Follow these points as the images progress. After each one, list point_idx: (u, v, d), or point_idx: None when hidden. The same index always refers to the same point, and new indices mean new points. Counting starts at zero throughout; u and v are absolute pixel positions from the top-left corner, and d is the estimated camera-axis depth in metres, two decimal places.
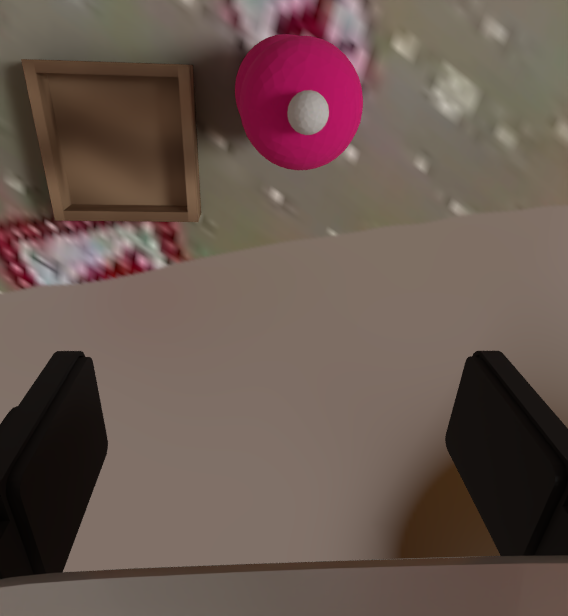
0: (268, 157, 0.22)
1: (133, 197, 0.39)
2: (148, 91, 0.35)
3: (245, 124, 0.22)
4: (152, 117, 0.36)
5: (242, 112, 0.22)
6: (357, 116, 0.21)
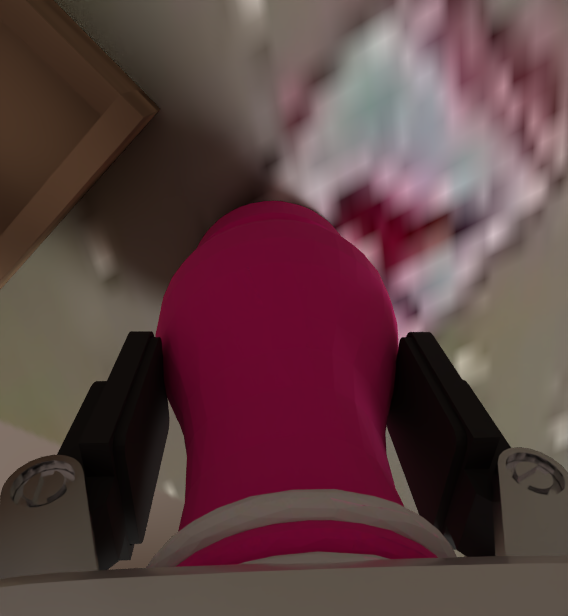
0: None
1: None
2: (24, 67, 0.14)
3: None
4: None
5: None
6: None
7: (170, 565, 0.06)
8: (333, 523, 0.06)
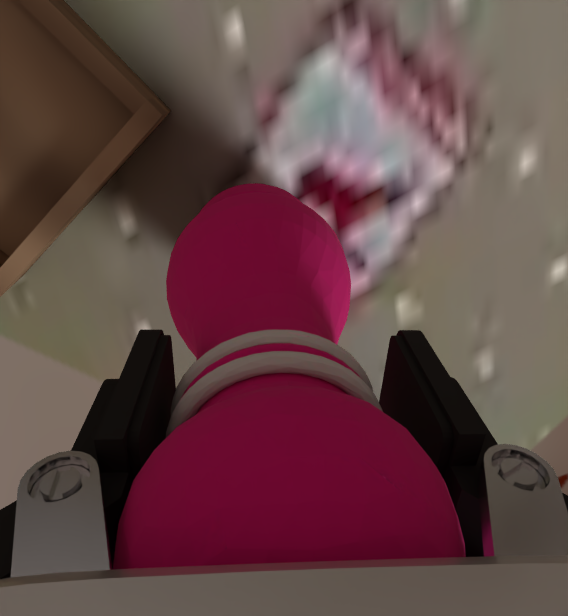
0: None
1: None
2: (78, 81, 0.20)
3: (128, 558, 0.07)
4: (53, 115, 0.20)
5: (145, 528, 0.06)
6: None
7: (193, 377, 0.10)
8: (289, 343, 0.10)
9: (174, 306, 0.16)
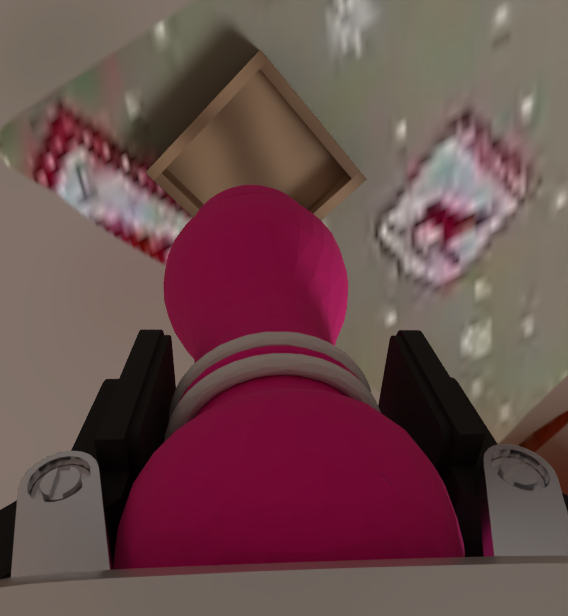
0: None
1: None
2: (315, 158, 0.36)
3: (128, 562, 0.07)
4: (298, 175, 0.36)
5: (146, 531, 0.06)
6: None
7: (192, 380, 0.10)
8: (288, 345, 0.10)
9: (171, 308, 0.16)
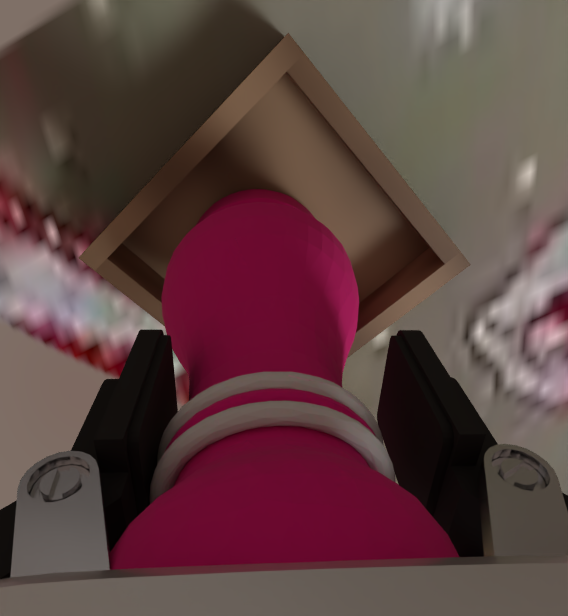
0: None
1: None
2: (376, 224, 0.21)
3: None
4: (346, 252, 0.21)
5: None
6: None
7: (181, 424, 0.09)
8: (288, 388, 0.09)
9: (168, 326, 0.15)
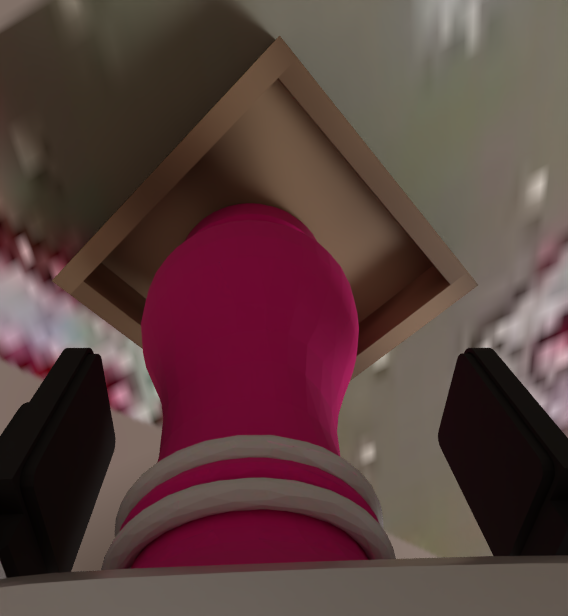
0: None
1: None
2: (376, 240, 0.19)
3: None
4: (344, 271, 0.20)
5: None
6: None
7: (140, 496, 0.08)
8: (267, 459, 0.07)
9: (146, 358, 0.13)
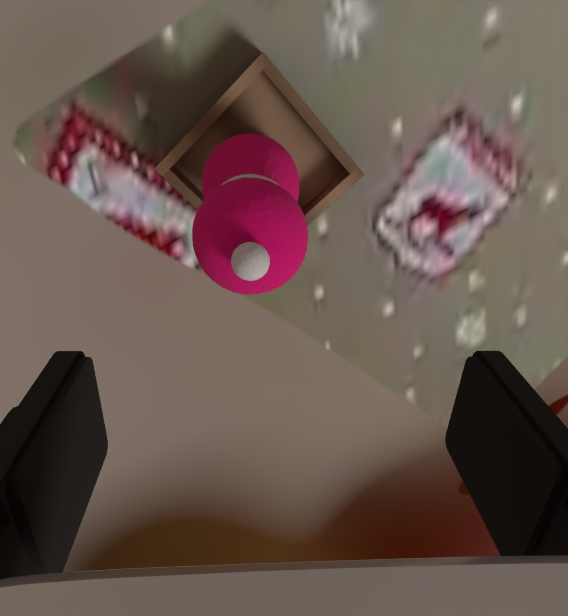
0: (196, 252, 0.23)
1: None
2: (315, 154, 0.38)
3: (199, 216, 0.22)
4: (299, 171, 0.38)
5: (205, 206, 0.22)
6: (281, 284, 0.24)
7: None
8: (255, 177, 0.26)
9: (206, 188, 0.32)
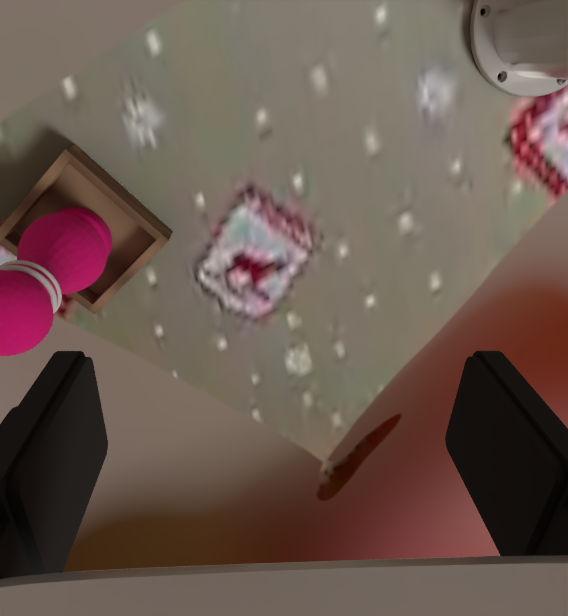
0: None
1: None
2: (132, 222, 0.45)
3: None
4: (121, 235, 0.46)
5: None
6: (26, 348, 0.32)
7: None
8: (20, 263, 0.33)
9: None
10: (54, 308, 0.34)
